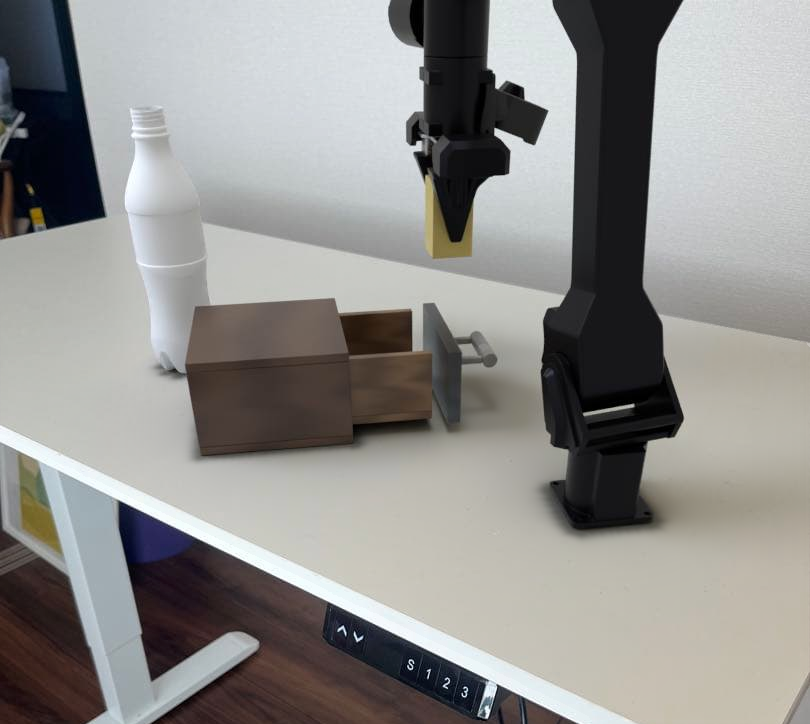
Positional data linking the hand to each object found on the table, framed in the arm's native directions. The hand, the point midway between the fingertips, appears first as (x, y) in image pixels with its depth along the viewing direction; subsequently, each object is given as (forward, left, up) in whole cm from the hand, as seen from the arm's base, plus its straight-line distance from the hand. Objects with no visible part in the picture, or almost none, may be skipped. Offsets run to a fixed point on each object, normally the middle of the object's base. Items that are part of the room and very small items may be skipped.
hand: (451, 236), depth 82 cm
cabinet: (-10, +19, -13) cm, 25 cm away
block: (0, 0, -2) cm, 2 cm away
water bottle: (+4, +28, -13) cm, 31 cm away
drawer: (-10, +6, -12) cm, 17 cm away
